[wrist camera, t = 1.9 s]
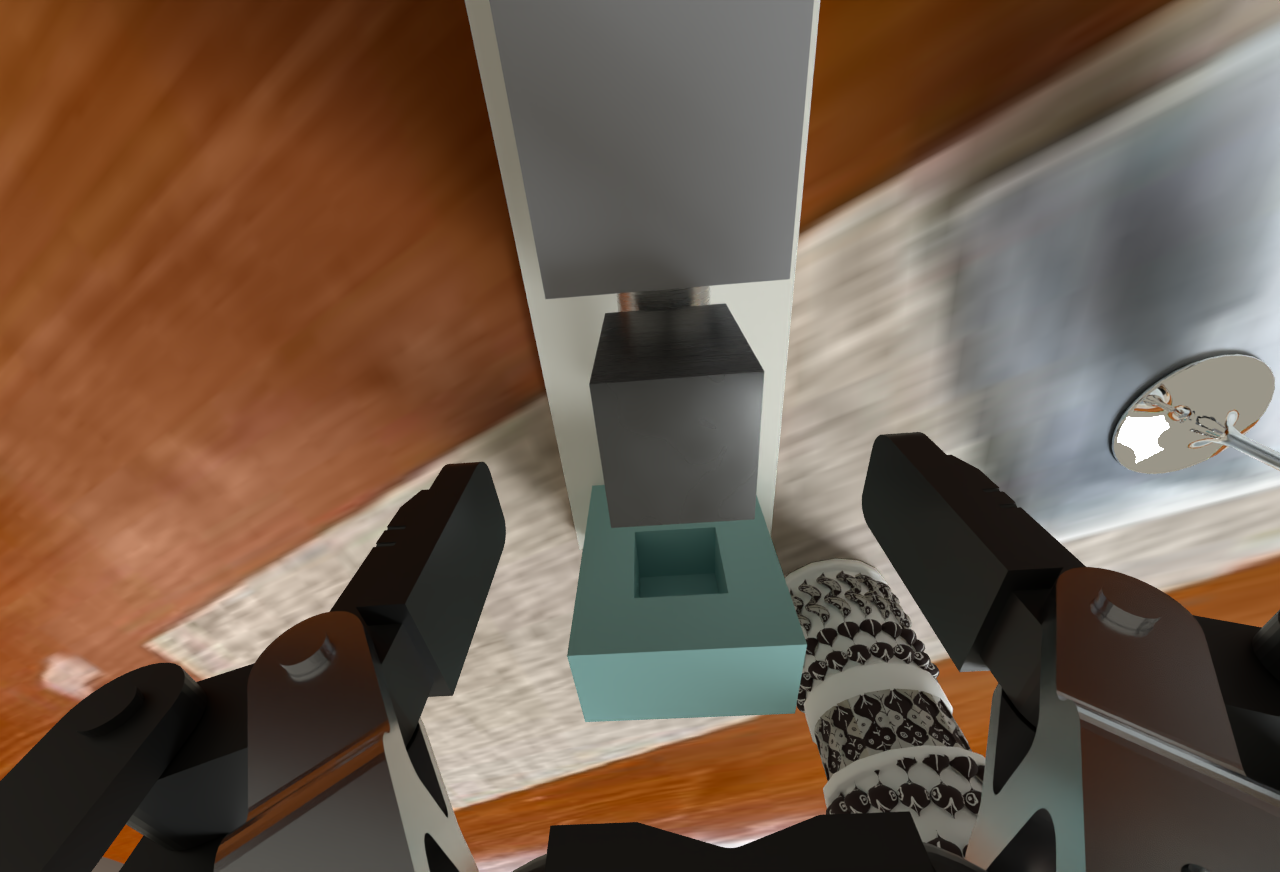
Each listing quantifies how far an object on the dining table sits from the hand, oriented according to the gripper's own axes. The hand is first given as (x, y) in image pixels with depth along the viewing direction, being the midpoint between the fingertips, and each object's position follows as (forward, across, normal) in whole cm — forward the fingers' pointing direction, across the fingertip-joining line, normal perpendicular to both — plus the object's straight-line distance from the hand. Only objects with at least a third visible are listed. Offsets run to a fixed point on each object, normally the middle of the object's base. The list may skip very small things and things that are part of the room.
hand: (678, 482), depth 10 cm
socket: (+13, 0, +12) cm, 18 cm away
